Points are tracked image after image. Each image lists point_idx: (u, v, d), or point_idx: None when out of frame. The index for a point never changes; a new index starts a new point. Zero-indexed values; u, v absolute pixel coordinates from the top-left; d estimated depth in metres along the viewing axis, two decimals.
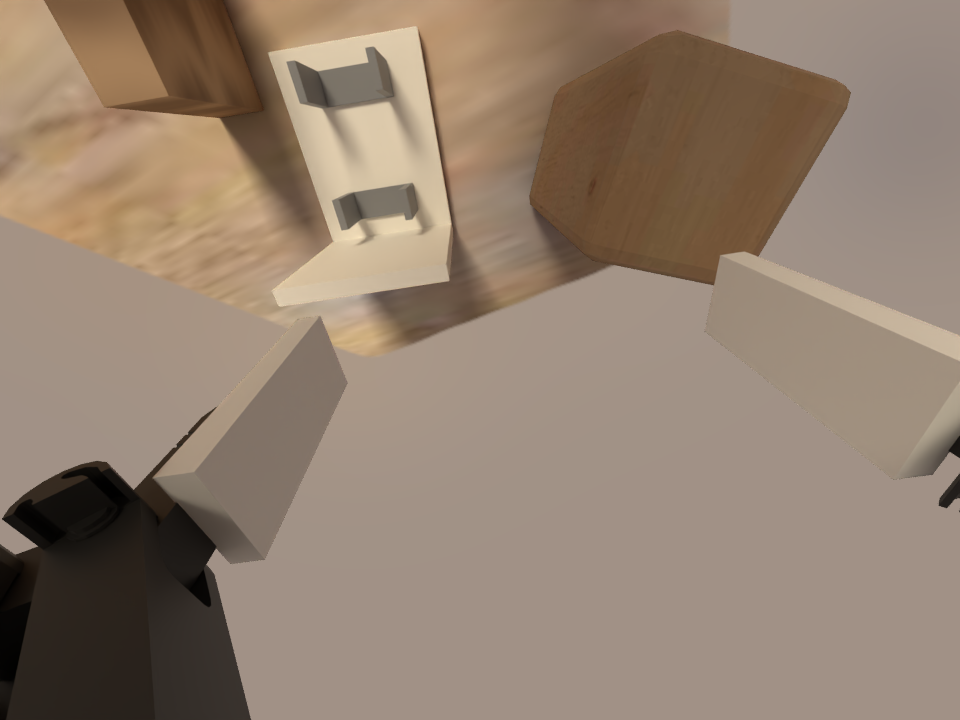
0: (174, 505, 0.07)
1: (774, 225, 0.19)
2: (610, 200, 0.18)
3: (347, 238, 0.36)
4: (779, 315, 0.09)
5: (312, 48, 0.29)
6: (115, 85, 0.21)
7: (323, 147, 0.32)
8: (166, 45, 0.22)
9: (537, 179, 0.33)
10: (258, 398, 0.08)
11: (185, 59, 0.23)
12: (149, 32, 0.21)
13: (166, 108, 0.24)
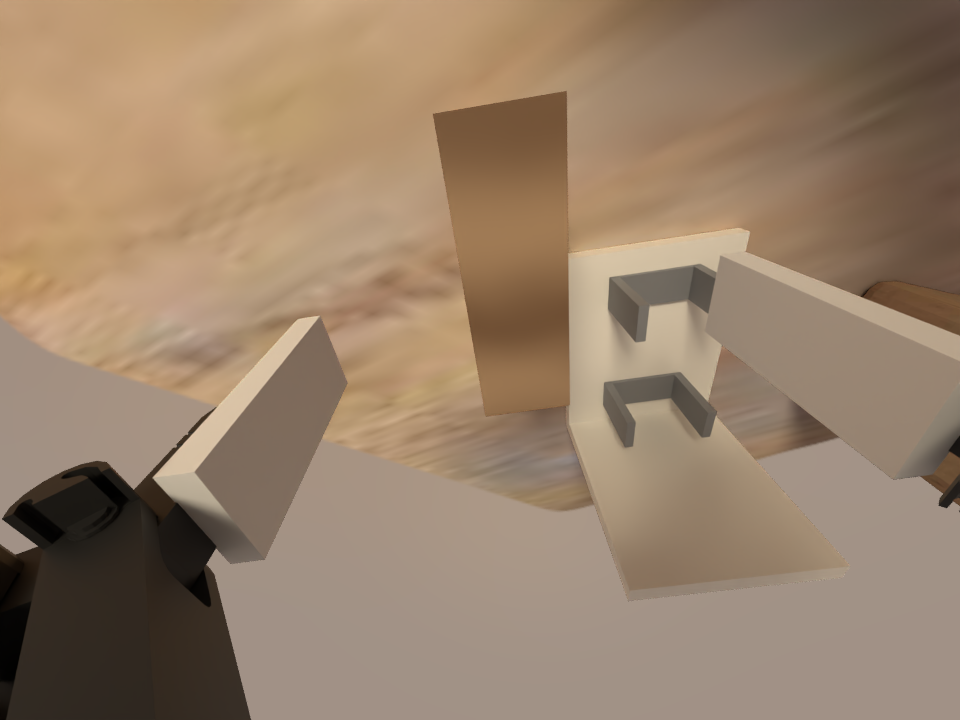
0: (174, 505, 0.07)
1: None
2: None
3: (586, 420, 0.32)
4: (780, 315, 0.09)
5: (620, 254, 0.24)
6: (510, 398, 0.17)
7: (594, 342, 0.28)
8: None
9: None
10: (258, 398, 0.08)
11: None
12: None
13: None
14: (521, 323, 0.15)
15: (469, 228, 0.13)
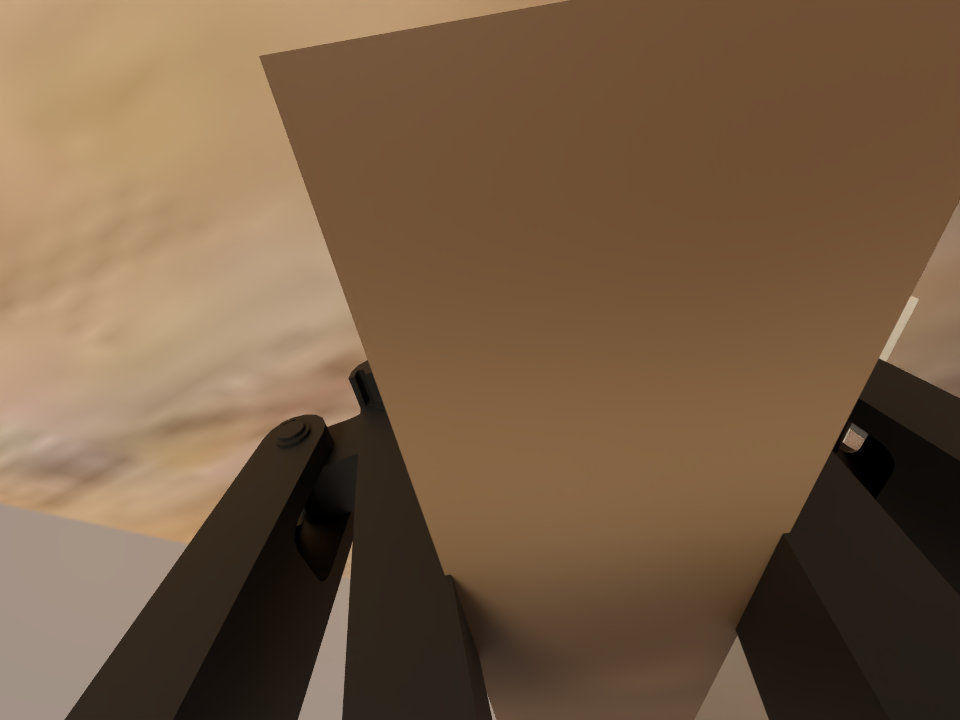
0: None
1: None
2: None
3: None
4: None
5: None
6: None
7: None
8: None
9: None
10: None
11: None
12: None
13: None
14: (610, 648, 0.06)
15: (475, 493, 0.04)
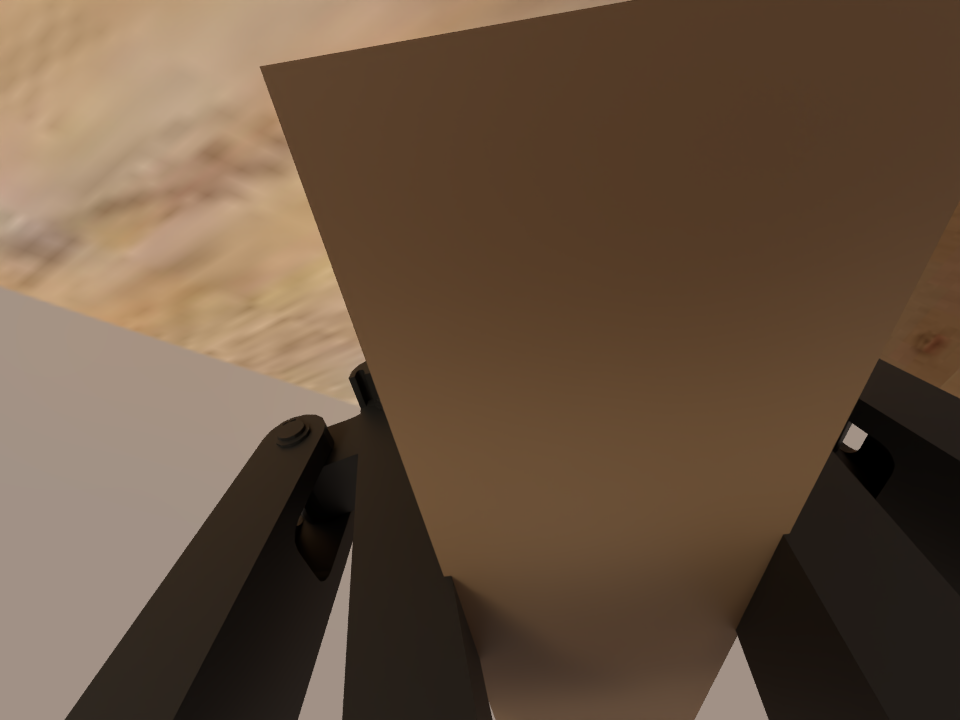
0: None
1: None
2: None
3: None
4: None
5: None
6: None
7: None
8: None
9: None
10: None
11: None
12: None
13: None
14: (610, 651, 0.06)
15: (474, 496, 0.04)
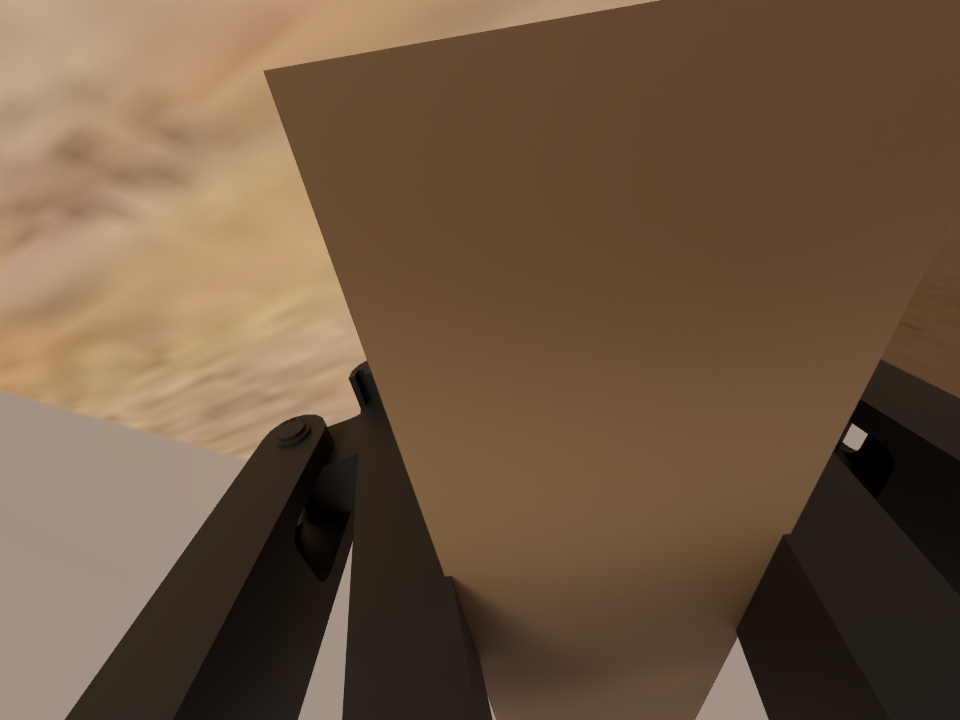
0: None
1: None
2: None
3: None
4: None
5: None
6: None
7: None
8: None
9: None
10: None
11: None
12: None
13: None
14: (611, 651, 0.06)
15: (476, 498, 0.04)
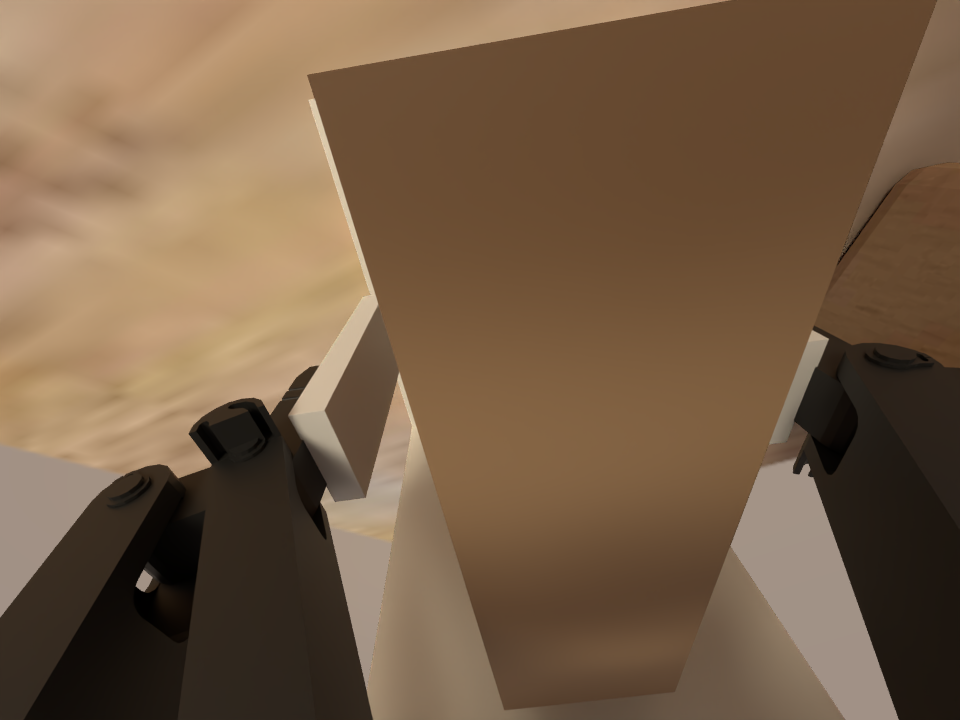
0: (301, 441, 0.08)
1: None
2: None
3: None
4: None
5: None
6: (557, 691, 0.08)
7: None
8: None
9: None
10: (354, 358, 0.09)
11: None
12: None
13: None
14: (598, 604, 0.06)
15: (474, 446, 0.04)
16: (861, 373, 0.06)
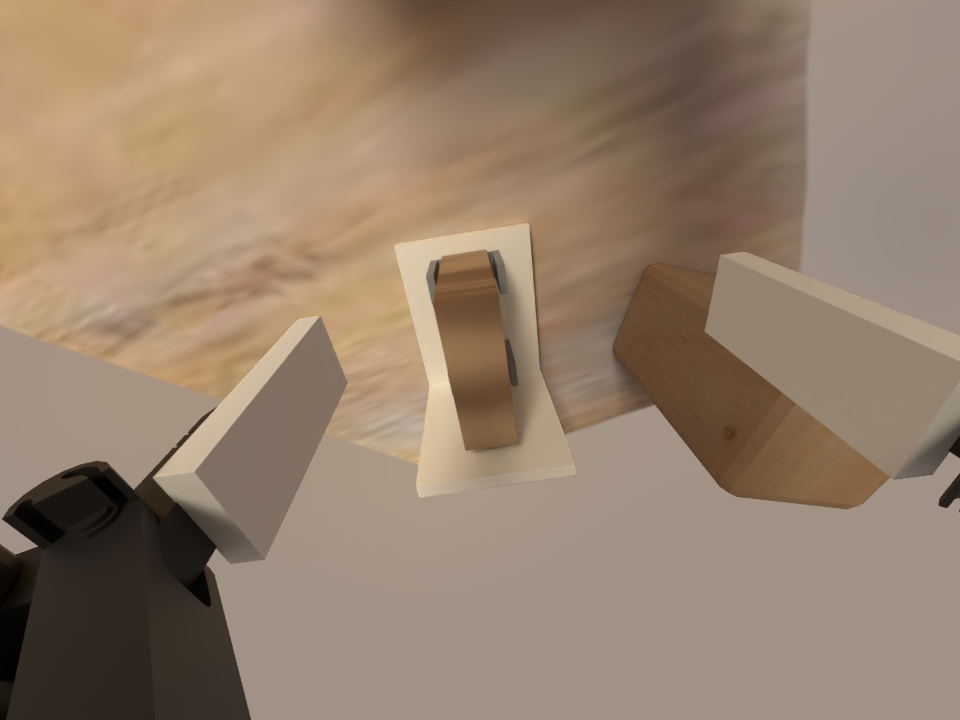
0: (174, 505, 0.07)
1: None
2: (756, 462, 0.21)
3: (443, 382, 0.39)
4: (779, 315, 0.09)
5: (434, 243, 0.32)
6: (480, 440, 0.27)
7: (432, 314, 0.35)
8: None
9: (626, 339, 0.36)
10: (258, 398, 0.08)
11: None
12: None
13: None
14: (484, 398, 0.25)
15: (452, 351, 0.23)
16: None
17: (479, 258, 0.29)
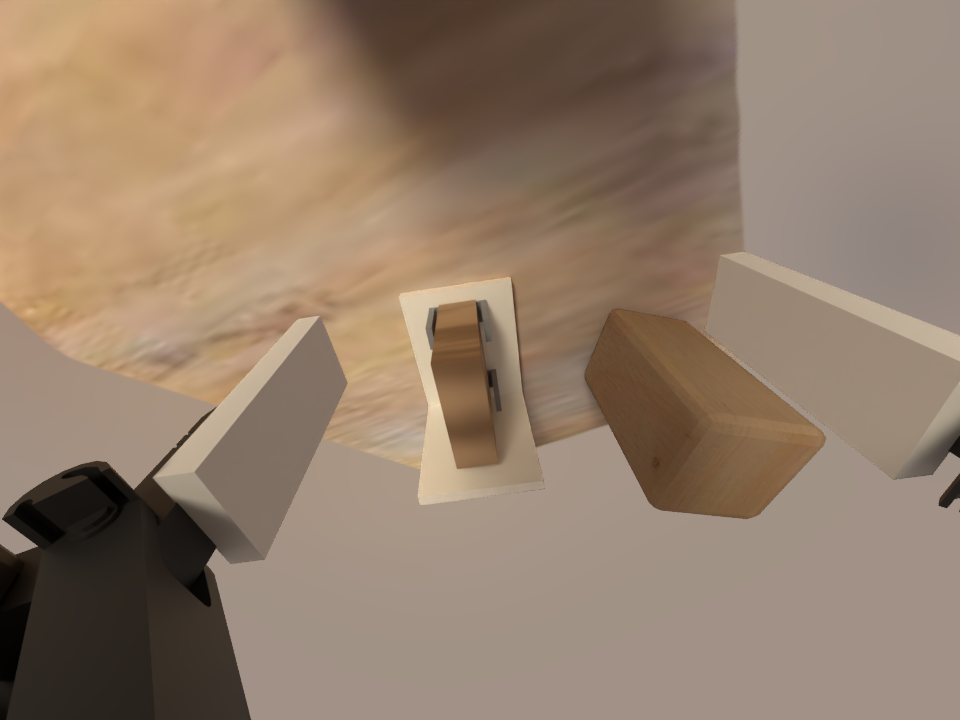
0: (174, 505, 0.07)
1: None
2: (671, 486, 0.28)
3: None
4: (779, 315, 0.09)
5: (432, 294, 0.38)
6: (468, 461, 0.34)
7: (430, 349, 0.42)
8: (493, 428, 0.35)
9: (594, 371, 0.43)
10: (258, 398, 0.08)
11: None
12: (493, 433, 0.34)
13: None
14: (471, 430, 0.32)
15: (445, 397, 0.30)
16: None
17: (469, 311, 0.36)
